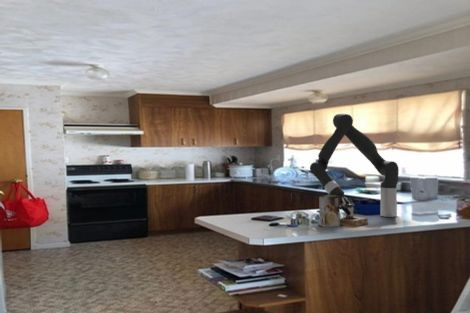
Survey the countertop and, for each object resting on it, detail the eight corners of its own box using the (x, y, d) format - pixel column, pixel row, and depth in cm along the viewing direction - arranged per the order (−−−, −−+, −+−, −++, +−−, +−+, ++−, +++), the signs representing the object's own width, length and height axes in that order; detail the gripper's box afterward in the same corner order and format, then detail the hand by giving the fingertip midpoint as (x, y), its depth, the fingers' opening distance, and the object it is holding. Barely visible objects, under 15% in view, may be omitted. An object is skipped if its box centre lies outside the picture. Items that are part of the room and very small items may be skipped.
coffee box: (334, 224, 250) (334, 194, 249) (340, 226, 244) (340, 196, 243) (318, 225, 247) (318, 195, 247) (324, 227, 241) (324, 196, 241)
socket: (346, 220, 261) (346, 215, 261) (367, 223, 251) (367, 218, 251) (331, 223, 252) (331, 218, 252) (353, 226, 241) (353, 221, 241)
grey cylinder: (348, 222, 255) (348, 203, 255) (355, 223, 251) (355, 204, 251) (342, 223, 252) (342, 204, 251) (350, 224, 248) (350, 204, 248)
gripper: (330, 186, 251) (349, 210, 243) (345, 185, 261) (364, 208, 253) (322, 195, 255) (340, 219, 247) (337, 193, 265) (355, 216, 257)
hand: (352, 213), depth 250 cm, fingers open, 5 cm apart
